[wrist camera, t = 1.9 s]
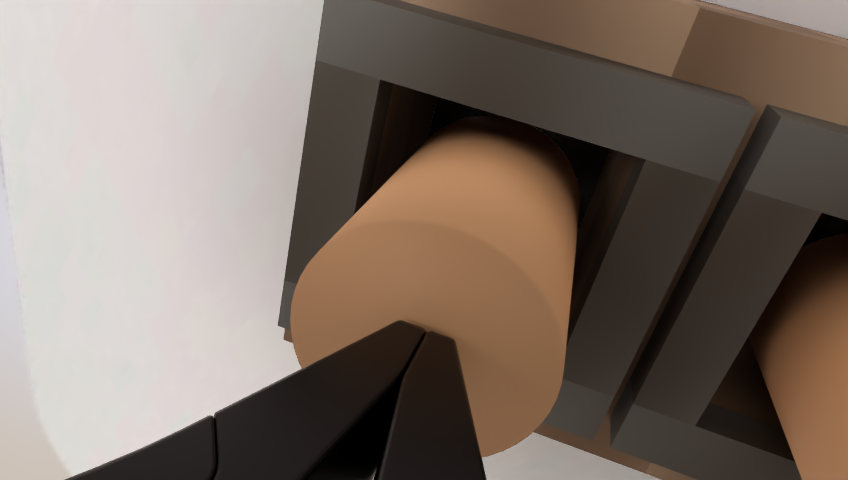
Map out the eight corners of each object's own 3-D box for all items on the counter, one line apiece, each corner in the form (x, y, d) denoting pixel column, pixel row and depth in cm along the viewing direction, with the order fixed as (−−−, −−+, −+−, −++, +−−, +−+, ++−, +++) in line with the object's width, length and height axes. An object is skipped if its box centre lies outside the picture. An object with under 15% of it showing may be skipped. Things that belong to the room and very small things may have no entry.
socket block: (1097, 105, 14) (1410, 198, 8) (851, 429, 18) (951, 620, 13) (419, -75, 16) (325, -90, 10) (353, 256, 20) (264, 361, 15)
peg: (607, 146, 13) (609, 279, 8) (546, 302, 15) (513, 496, 9) (426, 91, 13) (310, 180, 8) (389, 249, 15) (276, 404, 10)
